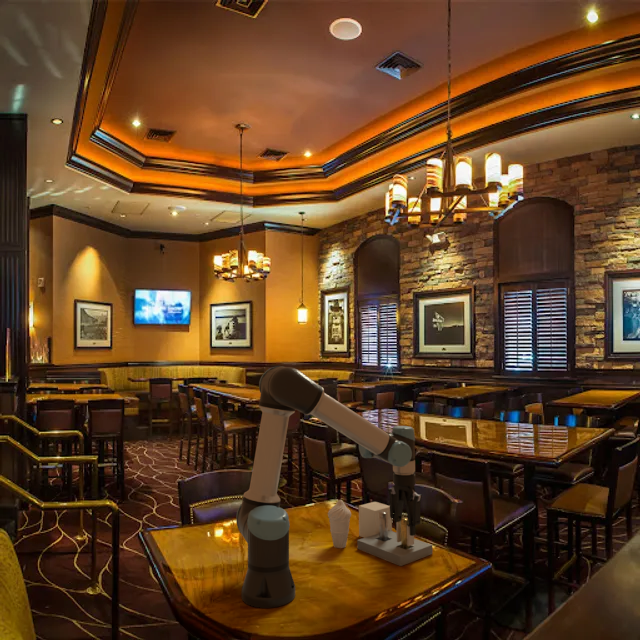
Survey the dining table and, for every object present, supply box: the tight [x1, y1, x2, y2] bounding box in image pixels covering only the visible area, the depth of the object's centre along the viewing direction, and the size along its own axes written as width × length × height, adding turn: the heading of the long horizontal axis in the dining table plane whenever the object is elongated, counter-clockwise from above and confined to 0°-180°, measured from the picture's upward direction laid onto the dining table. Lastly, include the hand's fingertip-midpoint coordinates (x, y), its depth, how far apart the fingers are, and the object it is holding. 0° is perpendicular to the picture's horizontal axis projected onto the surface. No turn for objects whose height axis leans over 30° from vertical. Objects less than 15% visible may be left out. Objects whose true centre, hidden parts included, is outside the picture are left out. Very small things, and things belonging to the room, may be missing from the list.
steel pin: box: [379, 511, 388, 541], centre depth 188 cm, size 3×3×12 cm
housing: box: [358, 501, 393, 538], centre depth 200 cm, size 9×9×11 cm
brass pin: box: [400, 517, 410, 550], centre depth 181 cm, size 3×3×12 cm
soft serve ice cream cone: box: [327, 499, 352, 549], centre depth 190 cm, size 8×8×16 cm
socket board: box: [356, 530, 434, 567], centre depth 184 cm, size 16×20×3 cm
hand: (405, 542), depth 181 cm, fingers open, 4 cm apart
